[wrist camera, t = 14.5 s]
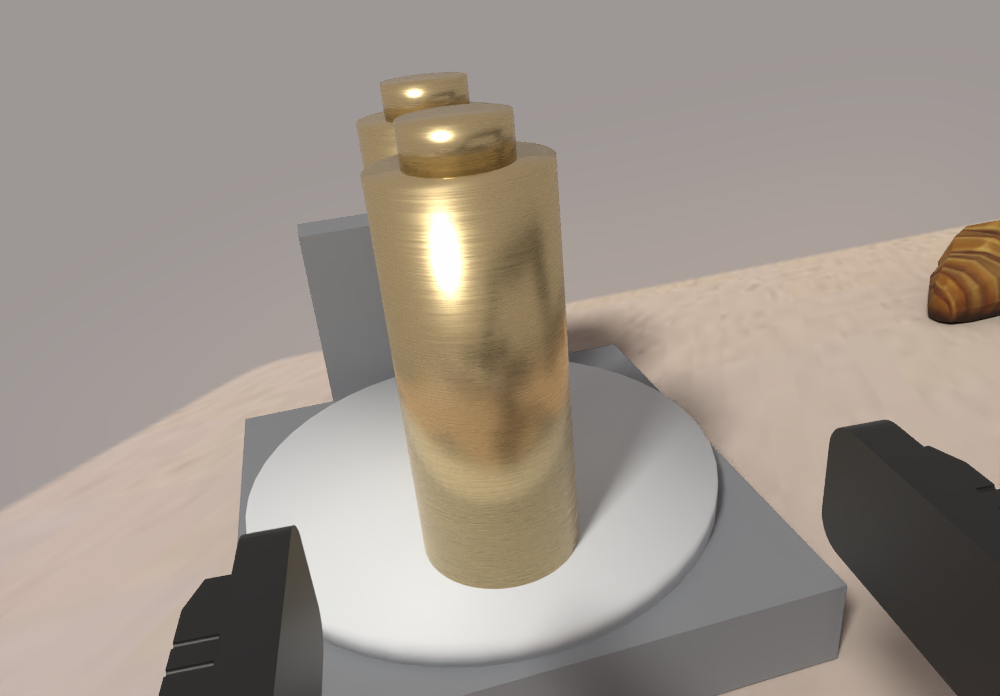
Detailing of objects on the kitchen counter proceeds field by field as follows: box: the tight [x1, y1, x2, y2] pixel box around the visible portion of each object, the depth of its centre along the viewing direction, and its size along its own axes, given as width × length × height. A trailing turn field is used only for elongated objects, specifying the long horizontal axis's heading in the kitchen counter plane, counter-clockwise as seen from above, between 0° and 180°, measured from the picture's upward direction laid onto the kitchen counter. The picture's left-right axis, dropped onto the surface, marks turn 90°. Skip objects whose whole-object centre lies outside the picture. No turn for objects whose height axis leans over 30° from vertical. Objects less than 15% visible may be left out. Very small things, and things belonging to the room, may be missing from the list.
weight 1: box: [356, 72, 481, 169], centre depth 30 cm, size 5×5×13 cm
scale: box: [237, 214, 847, 696], centre depth 29 cm, size 18×21×11 cm
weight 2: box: [361, 103, 579, 589], centre depth 22 cm, size 5×5×13 cm
